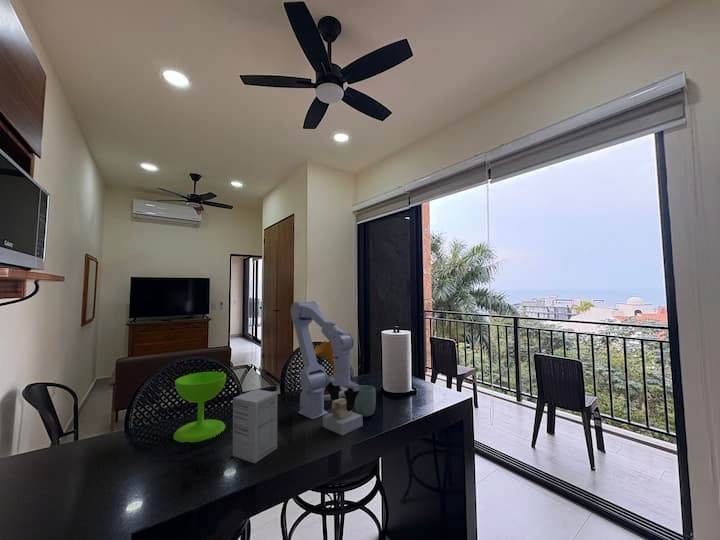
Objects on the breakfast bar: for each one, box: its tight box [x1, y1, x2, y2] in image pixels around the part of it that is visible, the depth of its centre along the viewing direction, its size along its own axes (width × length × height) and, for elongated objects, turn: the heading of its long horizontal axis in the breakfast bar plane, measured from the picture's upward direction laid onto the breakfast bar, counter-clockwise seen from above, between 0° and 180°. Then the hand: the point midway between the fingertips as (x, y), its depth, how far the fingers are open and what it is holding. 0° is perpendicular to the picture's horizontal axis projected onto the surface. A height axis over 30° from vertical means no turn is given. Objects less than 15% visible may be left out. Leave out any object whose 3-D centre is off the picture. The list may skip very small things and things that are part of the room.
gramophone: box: [314, 340, 348, 402], centre depth 148 cm, size 20×20×25 cm
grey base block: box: [322, 411, 364, 436], centre depth 111 cm, size 10×10×4 cm
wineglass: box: [172, 371, 227, 443], centre depth 108 cm, size 16×16×18 cm
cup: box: [354, 384, 377, 418], centre depth 121 cm, size 8×8×10 cm
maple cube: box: [331, 397, 353, 419], centre depth 112 cm, size 5×5×5 cm
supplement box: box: [232, 388, 278, 464], centre depth 94 cm, size 10×9×17 cm
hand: (342, 407), depth 112 cm, fingers open, 7 cm apart
